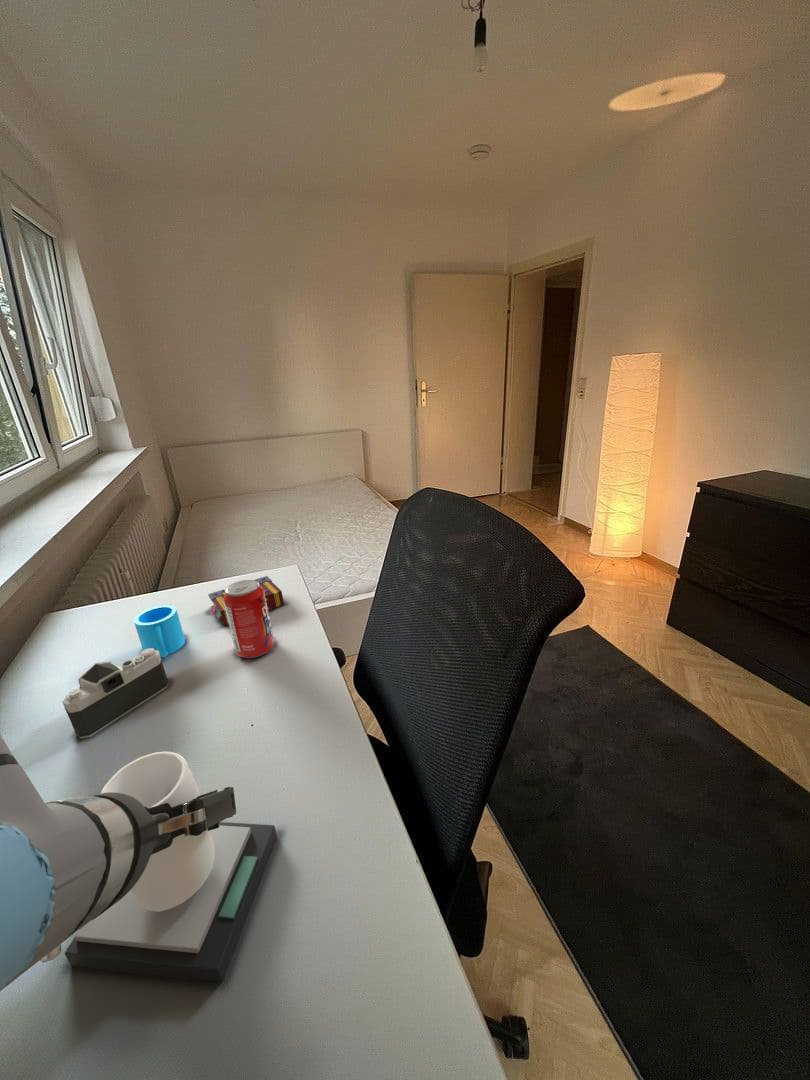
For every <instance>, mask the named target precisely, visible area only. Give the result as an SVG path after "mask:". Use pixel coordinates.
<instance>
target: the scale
mask: <svg viewBox="0 0 810 1080" xmlns="http://www.w3.org/2000/svg"><path fill="white" fill-rule="evenodd" d="M211 833H212V838H213V843H214V848H215V858H214V863H213V867H212V869H211V872H210V874H209V876H208V878H207V879H206V881H205V882H204V884H203V885H202V887H201V888H200V889H199V890H198V891H197V892H196V893H195V894H194V895H193V896H191V897H190V898H188V899H187V900H186V901H184V902H183V903H182V904H179V905H177V906H175V907H173V908H171V909H168V910H164V911H161V912H157V911H150V910H147V909H145V908H143V907H142V906H141V905H140V904H139V902H138V901H137V900H136V898H135V896H134V895H133V893H132V892H131V890H130V891H129V892H128V893H127V894H126V895H125V896H124V897H123V898H122V899H121V900H119V901H118V902H117V903H115V904H114V905H113V906H111V907H110V908H109V909H108V910H106V911H105V912H104V913H102V914H101V915H99V916H98V917H96V918H95V919H93V920H91V921H90V922H89V923H87V924H86V925H85V926H83V927H82V928H81V929H79V930H78V931H76V932H75V934H74V936H73V937H74V938H73V939H72V941H71V942H70V944H69V945H68V947H67V948H66V950H65V951H64V956H65V958H66V959H67V960H68V962H69V964H70V966H71V967H76V968H77V967H78V968H87V969H96V970H106V971H115V972H123V973H135V974H143V975H153V976H159V977H160V976H162V977H171V978H180V979H187V980H197V981H198V980H199V981H206V982H207V981H208V982H215V983H216V982H217V983H223V982H224V980H225V977H226V974H227V971H228V969H229V966H230V963H231V961H232V958H233V955H234V953H235V950H236V948H237V945H238V942H239V939H240V937H241V934H242V931H243V930H244V927H245V924H246V922H247V918H248V916H249V914H250V910H251V908H252V905H253V903H254V900H255V897H256V894H257V892H258V890H259V887H260V884H261V882H262V879H263V876H264V873H265V871H266V868H267V865H268V863H269V860H270V857H271V854H272V852H273V850H274V847H275V844H276V842H277V839H278V835H277V830H276V826H275V824H258V823H245V822H243V823H242V822H227V821H221V822H219V828H216V829H213V830H211Z"/></svg>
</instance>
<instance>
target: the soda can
mask: <svg viewBox="0 0 810 1080" xmlns="http://www.w3.org/2000/svg"><path fill="white" fill-rule="evenodd" d="M224 590H225V595H224V597H223V601H224V605H225V609H226V614H227V618H228V622H229V624H228V626H229V630H230V634H231V638H232V642H233V646H234V650H235V654H236V655H237V656H238V657H241V658H245V659H251V658H252V659H253V658H257V657H260V656H263V655H265V654H267V653H269V652H270V650H271V649H272V648H273V647H274V645H275V638H274V634H273V629H272V628H273V627H272V623H271V618H270V612H269V611H268V608H267V603H266V598H265V593H264V589H263V588H262V587H261V586H260V585H259V583H258V582H257V581H255V579H243V580H239V581H235V582H233V583H231V584H229V585H227V586H226V587H225V588H224Z"/></svg>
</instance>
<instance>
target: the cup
mask: <svg viewBox="0 0 810 1080" xmlns="http://www.w3.org/2000/svg"><path fill="white" fill-rule="evenodd" d="M109 792H115V793H122V794H126V795H129V796H131V797H133V798H135V799H136V800H138V801H139V802H140V803H141V804H142V805H143V806H144V807H147V808H151V807H154V806H158V805H161V804H164V803H169V804H170V806H171V807H174V806H177V805H180V804H183V803H186V802H189V801H192V799H195V798H197V797H198V796H201V795H202V794H201V792H200V789H199V787H198V783H197V781H196V779H195V777H194V775H193V772H192V770H191V769H190V766H189V764H188V762H187V760H186V759H185V758H184V757H183V756H182V755H180V754H179V753H176V752H174V751H156V752H152V753H149V754H145V755H143V756H141V757H138V758H136V759H134V760H132V761H131V762H129V763H127V764H126V765H124V766H122V767H121V768H120V769H119V770H118V771H116V773H114V774H113V775H112V776H111V777H110V779H109V780H108V781H107V782H106V783H105V785H104V786H103V788H102V790H101V791H100V793H99V794H101V793H109ZM151 816H152V815H151ZM214 858H215V848H214V843H213V838H212V833H211V830H210V831H208V829H207V830H206V831H204V832H202V834H201V835H198V836H193V835H192V836H190V835H189V836H186V837H185V834H182V835H180V836H178V837H175V838H174V839H173V842H172V844H171V846H170V847H168V848H166V849H164V850H161V851H159V852H157V853H155V854H152V855H151V857H150V859H149V861H148V864H147V866H146V868H145V870H144V872H143V874H142V875H141V877H140V878H139V880H138V881H137V883H136V884H135V885H134V887H133V888H132V889H131V892H132V893H133V895H134V896H135V898H136V900H137V901H138V902H139V904H140V905H141V906H142V907H143V908H145V909H147V910H150V911H157V912H161V911H164V910H168V909H171V908H173V907H175V906H177V905H179V904H182V903H183V902H184V901H186V900H187V899H188V898H190V897H191V896H193V895H194V894H195V893H196V892H197V891H198V890H199V889H200V888H201V887H202V885H203V884H204V882H205V881H206V879H207V878H208V876H209V874H210V872H211V869H212V867H213V863H214Z"/></svg>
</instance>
